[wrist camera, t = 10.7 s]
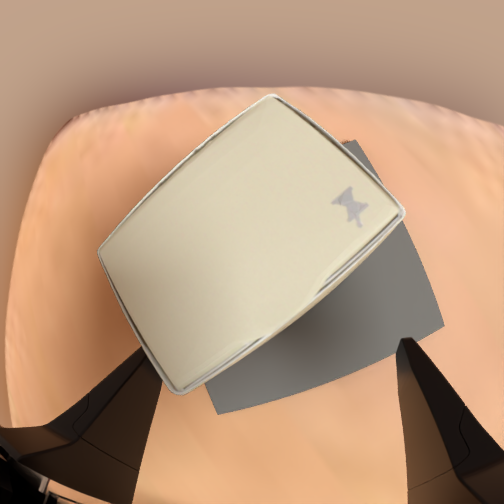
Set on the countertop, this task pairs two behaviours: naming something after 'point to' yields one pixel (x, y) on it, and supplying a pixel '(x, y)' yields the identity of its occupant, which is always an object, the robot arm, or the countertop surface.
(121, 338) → the countertop surface
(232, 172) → the skincare box
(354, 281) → the charcoal mat
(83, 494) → the robot arm
